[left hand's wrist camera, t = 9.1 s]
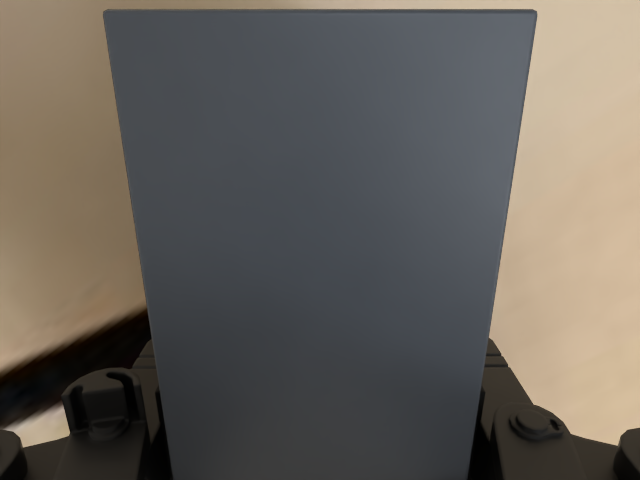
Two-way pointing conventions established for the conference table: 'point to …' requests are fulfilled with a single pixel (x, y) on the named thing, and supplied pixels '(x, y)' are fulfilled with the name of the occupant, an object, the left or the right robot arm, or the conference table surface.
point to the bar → (320, 229)
